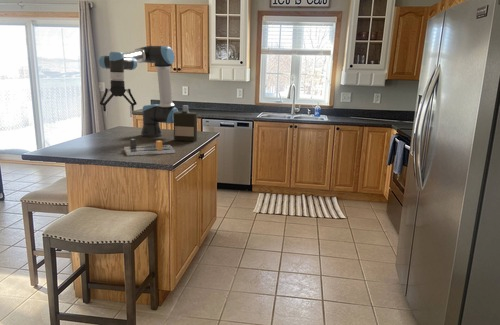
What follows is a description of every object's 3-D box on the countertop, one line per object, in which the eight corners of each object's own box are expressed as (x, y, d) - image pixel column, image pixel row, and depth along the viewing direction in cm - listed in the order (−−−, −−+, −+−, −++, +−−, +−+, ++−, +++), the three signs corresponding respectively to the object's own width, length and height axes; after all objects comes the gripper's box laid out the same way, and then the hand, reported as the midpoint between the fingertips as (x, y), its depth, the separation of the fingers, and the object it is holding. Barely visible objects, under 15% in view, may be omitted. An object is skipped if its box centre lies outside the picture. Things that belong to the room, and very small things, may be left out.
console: (124, 150, 221) (124, 146, 220) (169, 147, 232) (169, 144, 231) (126, 155, 207) (126, 152, 207) (175, 153, 219) (174, 149, 218)
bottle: (175, 138, 261) (175, 104, 255) (197, 140, 261) (197, 105, 255) (173, 141, 254) (172, 105, 247) (195, 142, 253) (195, 106, 247)
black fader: (130, 146, 220) (129, 138, 219) (135, 146, 221) (135, 138, 220) (131, 148, 217) (130, 139, 215) (136, 148, 218) (135, 139, 217)
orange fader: (156, 148, 218) (155, 140, 217) (161, 148, 219) (160, 140, 218) (157, 150, 214) (157, 141, 213) (162, 150, 216) (162, 141, 214)
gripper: (94, 79, 197) (96, 118, 203) (140, 80, 208) (141, 117, 213) (93, 79, 204) (95, 116, 209) (138, 80, 214) (140, 115, 220)
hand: (119, 116), depth 211 cm, fingers open, 13 cm apart
